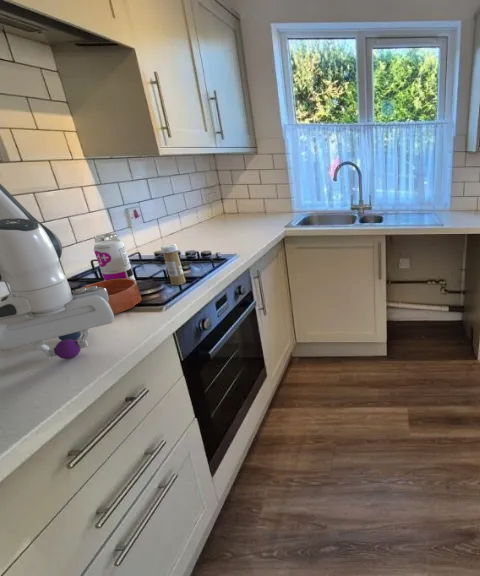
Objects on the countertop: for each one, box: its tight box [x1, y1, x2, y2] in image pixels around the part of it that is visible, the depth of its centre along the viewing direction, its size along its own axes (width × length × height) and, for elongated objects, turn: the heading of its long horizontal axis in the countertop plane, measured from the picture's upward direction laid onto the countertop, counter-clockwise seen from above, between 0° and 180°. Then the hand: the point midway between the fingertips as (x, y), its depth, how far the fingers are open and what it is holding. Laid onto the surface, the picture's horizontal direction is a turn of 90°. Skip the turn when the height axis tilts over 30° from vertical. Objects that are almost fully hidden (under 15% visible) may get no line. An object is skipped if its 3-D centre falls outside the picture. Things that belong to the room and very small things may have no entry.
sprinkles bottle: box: [160, 243, 187, 286], centre depth 121 cm, size 5×5×13 cm
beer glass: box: [93, 232, 120, 244], centre depth 129 cm, size 7×7×15 cm
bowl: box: [73, 278, 143, 315], centre depth 106 cm, size 15×15×6 cm
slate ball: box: [57, 331, 82, 342], centre depth 89 cm, size 4×4×4 cm
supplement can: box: [93, 239, 136, 281], centre depth 120 cm, size 8×8×15 cm
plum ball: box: [55, 339, 81, 360], centre depth 82 cm, size 4×4×4 cm
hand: (68, 351), depth 82 cm, fingers closed on plum ball, 4 cm apart
